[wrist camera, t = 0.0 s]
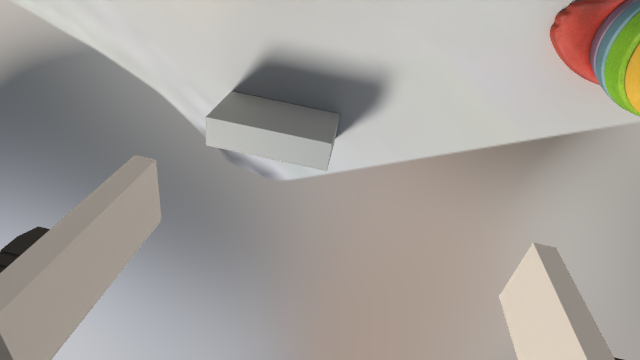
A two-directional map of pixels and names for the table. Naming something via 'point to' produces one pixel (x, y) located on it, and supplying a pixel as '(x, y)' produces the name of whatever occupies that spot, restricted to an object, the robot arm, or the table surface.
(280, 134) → the block
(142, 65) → the table surface
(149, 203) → the robot arm
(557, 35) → the stacking bear
